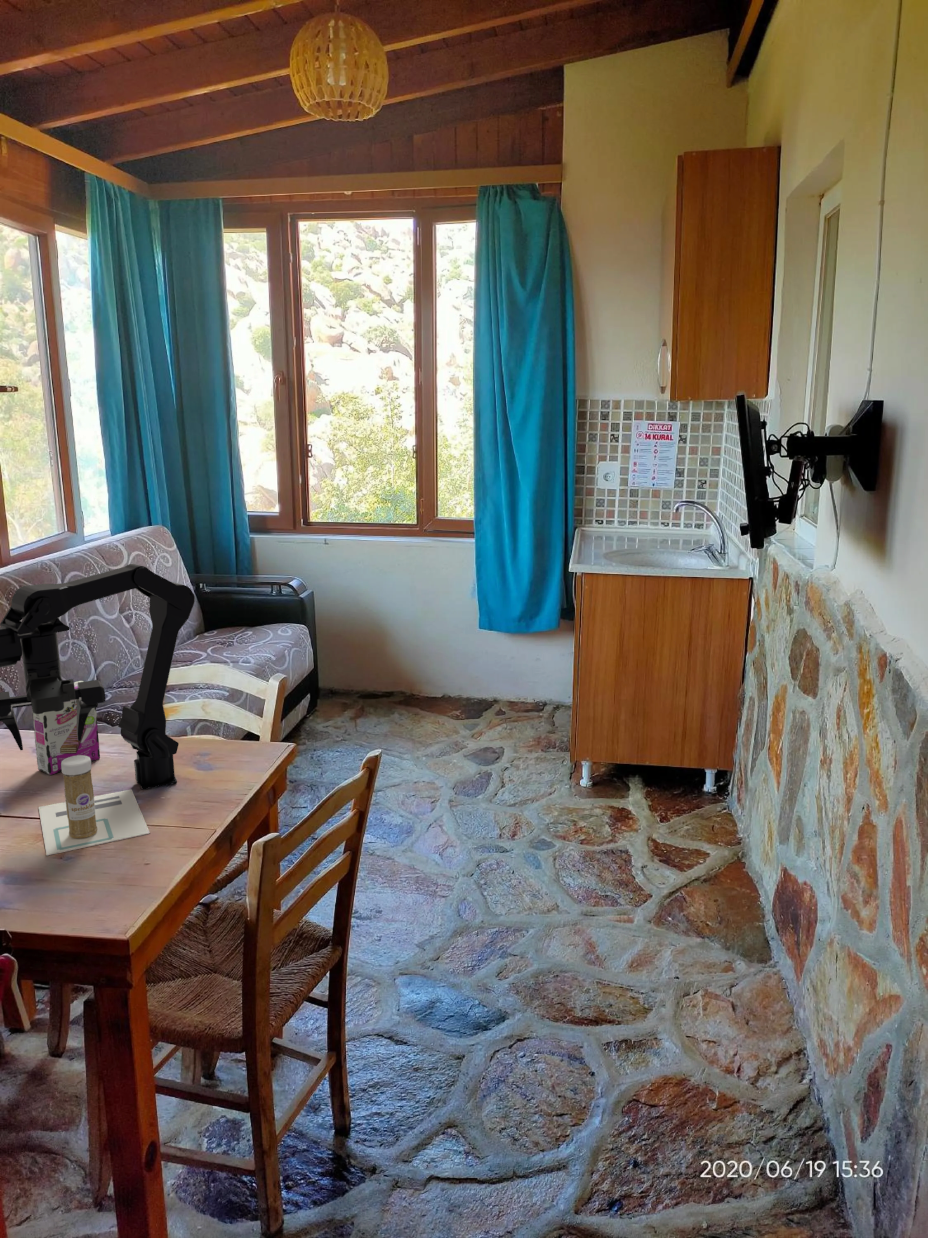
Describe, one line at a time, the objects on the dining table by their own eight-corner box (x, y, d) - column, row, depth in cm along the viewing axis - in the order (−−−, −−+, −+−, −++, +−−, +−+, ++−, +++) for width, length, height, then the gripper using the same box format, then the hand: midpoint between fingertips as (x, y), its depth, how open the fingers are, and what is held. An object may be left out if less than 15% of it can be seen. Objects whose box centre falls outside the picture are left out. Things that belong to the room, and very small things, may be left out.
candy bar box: (50, 776, 171) (41, 697, 168) (37, 770, 174) (28, 692, 170) (102, 759, 180) (95, 683, 176) (88, 753, 183) (81, 679, 179)
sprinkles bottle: (79, 842, 145) (70, 767, 142) (63, 835, 147) (55, 760, 144) (103, 831, 148) (96, 758, 145) (88, 824, 151) (80, 752, 148)
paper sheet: (131, 790, 165) (131, 789, 165) (149, 833, 148) (149, 832, 148) (38, 807, 158) (38, 806, 158) (46, 855, 141) (46, 854, 141)
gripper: (-21, 679, 138) (-9, 771, 141) (105, 663, 147) (113, 750, 150) (-21, 662, 147) (-10, 748, 151) (97, 648, 156) (105, 730, 160)
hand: (50, 745), depth 153 cm, fingers open, 9 cm apart
